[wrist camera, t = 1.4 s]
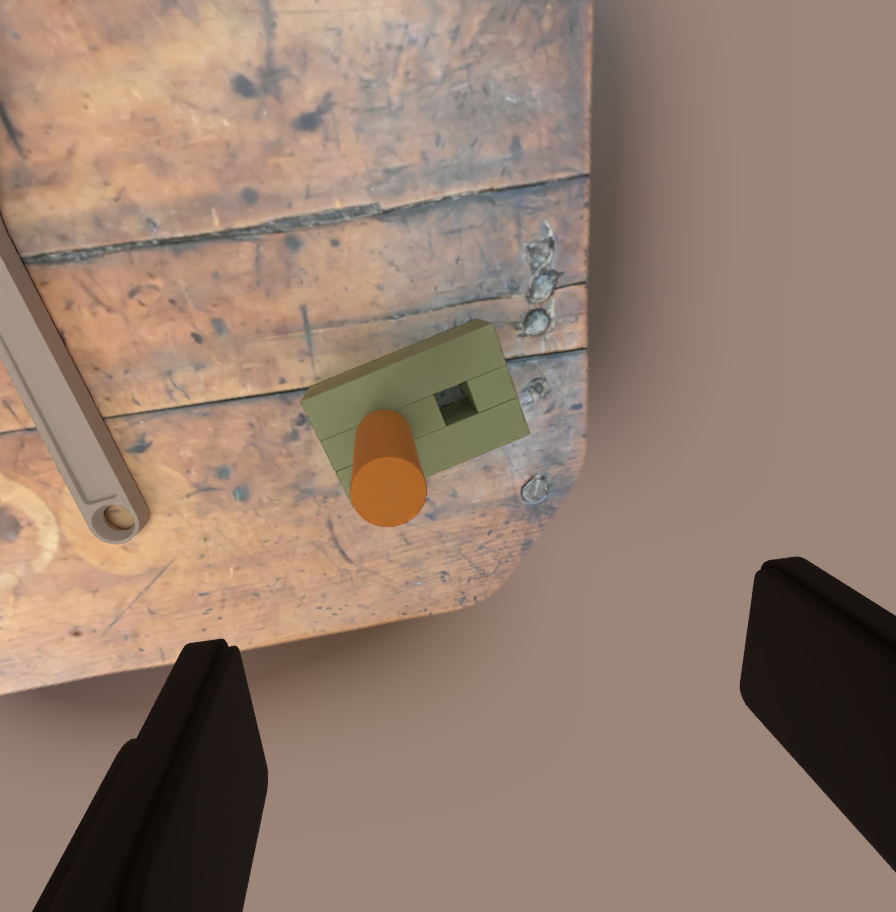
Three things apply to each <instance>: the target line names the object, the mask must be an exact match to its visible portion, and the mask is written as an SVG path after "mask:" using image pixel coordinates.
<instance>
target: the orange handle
mask: <svg viewBox="0 0 896 912" xmlns="http://www.w3.org/2000/svg"><path fill="white" fill-rule="evenodd" d="M426 496H427V485H426V481H425V477H424V473H423V470H422V466H421V463H420V459H419V456H418V452H417V448H416V445H415V441H414V438H413V434H412V431H411V427H410V425H409V423H408V422H407V420H406V419H405V418H404V417H403V416H402V415H400V414H399V413H397V412H395V411H392V410H385V409H383V410H376V411H373V412H371V413H369V414H368V415H366V416H365V417H364V418H363V419H362V420H361V421H360V423H359V425H358V427H357V430H356V437H355V447H354V457H353V467H352V477H351V486H350V497H351V501H352V504H353V507H354V508H355V510H356V511H357V513H358V514H359V515H360V516H361V517H362V518H363V519H365V520H366V521H368V522H369V523H372V524H374V525H377V526H382V527H394V526H398V525H402V524H404V523H406V522H408V521H410V520H411V519H413V518H414V517H415V516H416V515H417V514H418V513H419V512H420V510H421V509H422V507H423V505H424V503H425V500H426Z"/></svg>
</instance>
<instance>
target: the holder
mask: <svg viewBox="0 0 896 912" xmlns="http://www.w3.org/2000/svg"><path fill="white" fill-rule="evenodd" d="M458 384H461V387H462V390H463V392H464V395H465V397H466V398H464V399H461V400H459V401H456V402H454V403H452V404H449V405H447V406H444V407H442V408H439V407H438V404H437V402H436V399H435V397H434V394H436V393H438V392H441V391H443V390H446V389H448V388H451V387H453V386H455V385H458ZM301 404H302V406H303V408H304V410H305V412H306V414H307V416H308V418H309V420H310V422H311V424H312V426H313V428H314V431H315V433H316V435H317V437H318V439H319V440H320V441H321V444H322V446H323V448H324V450H325V452H326V454H327V456H328V458H329V460H330V462H331V464H332V466H333V468H334V470H335V471H336V475H337V477H338V479H339V481H340V483H341V485H342V487H343V489H344V491H345V493H346V495H347V497H348V499H349V501H350V503H351V505H352V507H353V504H352V501H351V497H350V486H351V477H352V467H353V457H354V447H355V437H356V430H357V427H358V425H359V423H360V421H361V420H362V419H363V418H364V417H365V416H366V415H368V414H369V413H371V412H373V411H376V410H383V409H385V410H392V411H395V412H397V413H399V414H400V415H402V416H403V417H404V418H405V419H406V420H407V422H408V423H409V425H410V427H411V431H412V434H413V438H414V441H415V445H416V448H417V452H418V456H419V459H420V463H421V466H422V470H423V473H424V477H425V478H426V477H428V476H431V475H433V474H435V473H438V472H440V471H443V470H445V469H448V468H450V467H452V466H455V465H457V464H460V463H462V462H465V461H467V460H469V459H472V458H474V457H477V456H479V455H481V454H484V453H486V452H489V451H491V450H494V449H496V448H498V447H501V446H503V445H506V444H508V443H511V442H513V441H515V440H518V439H520V438H523V437H525V436H528V435H530V432H529V429H528V426H527V423H526V420H525V417H524V414H523V411H522V408H521V405H520V403H519V400H518V398H517V394H516V391H515V388H514V385H513V382H512V379H511V376H510V373H509V370H508V367H507V365H506V361H505V358H504V355H503V352H502V349H501V346H500V343H499V341H498V338H497V335H496V332H495V329H494V326H493V323H490V322H487V321H484V320H480V319H477V318H476V319H474V320H471V321H469V322H467V323H464V324H462V325H459V326H457V327H454V328H452V329H449V330H447V331H445V332H442V333H440V334H437V335H435V336H432V337H430V338H427V339H425V340H423V341H420V342H418V343H415V344H413V345H410V346H408V347H405V348H403V349H401V350H398V351H396V352H393V353H391V354H388V355H386V356H383V357H381V358H379V359H376V360H374V361H371V362H369V363H366V364H364V365H361V366H359V367H356V368H354V369H352V370H349V371H347V372H344V373H342V374H339V375H337V376H334V377H332V378H330V379H327V380H325V381H322V382H320V383H317V384H315V385H312V386H310V387H309V388H308V390H307V392H306V393H305V395H304V397H303V398H302V400H301Z"/></svg>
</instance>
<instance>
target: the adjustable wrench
mask: <svg viewBox="0 0 896 912" xmlns="http://www.w3.org/2000/svg"><path fill="white" fill-rule="evenodd" d="M0 359H1V360H2V362H3V364H4V366H5V368H6V370H7V372H8V374H9V376H10V378H11V380H12V382H13V383H14V385H15V387H16V389H17V391H18V393H19V395H20V397H21V399H22V401H23V403H24V404H25V406H26V408H27V410H28V412H29V414H30V416H31V418H32V420H33V422H34V424H35V426H36V427H37V429H38V431H39V433H40V435H41V437H42V439H43V441H44V443H45V445H46V447H47V448H48V450H49V452H50V454H51V456H52V458H53V460H54V462H55V464H56V466H57V468H58V470H59V471H60V473H61V475H62V477H63V479H64V481H65V483H66V485H67V487H68V489H69V491H70V492H71V494H72V496H73V498H74V500H75V502H76V504H77V506H78V508H79V510H80V512H81V514H82V515H83V517H84V519H85V521H86V523H87V525H88V527H89V529H90V530H91V532H92V533H93V534H94V536H96V537H97V538H98V539H100V540H101V541H104V542H107V543H110V544H122V543H126V542H128V541H130V540H132V539H133V538H134V537H135V536H136V535H137V534H138V533H139V532H140V530H141V529H142V528H143V527H144V526H145V525H146V523H147V521H148V519H149V511H148V508H147V505H146V503H145V501H144V499H143V497H142V495H141V493H140V492H139V490H138V488H137V486H136V484H135V482H134V480H133V478H132V476H131V474H130V472H129V470H128V468H127V466H126V464H125V462H124V460H123V458H122V456H121V454H120V453H119V451H118V449H117V447H116V445H115V443H114V441H113V439H112V437H111V435H110V433H109V431H108V429H107V427H106V425H105V423H104V421H103V419H102V417H101V415H100V414H99V412H98V410H97V408H96V406H95V404H94V402H93V400H92V398H91V396H90V394H89V392H88V390H87V388H86V386H85V384H84V382H83V380H82V378H81V376H80V375H79V373H78V371H77V369H76V367H75V365H74V363H73V361H72V359H71V357H70V355H69V353H68V351H67V349H66V347H65V345H64V343H63V341H62V339H61V337H60V336H59V334H58V332H57V330H56V328H55V326H54V324H53V322H52V320H51V318H50V316H49V314H48V312H47V310H46V308H45V306H44V304H43V302H42V300H41V299H40V297H39V295H38V293H37V291H36V289H35V287H34V285H33V283H32V281H31V279H30V277H29V275H28V273H27V271H26V269H25V267H24V265H23V263H22V261H21V260H20V258H19V256H18V254H17V252H16V250H15V248H14V246H13V244H12V242H11V240H10V238H9V236H8V234H7V232H6V229H5V227H4V225H3V222H2V220H1V217H0ZM111 505H118V506H120V507H123V508H125V509H126V510H127V511H129V512H130V513H131V515H132V516H133V517H134V521H135V523H134V525H133V526H132V527H131V528H130V529H128V530H123V529H119V528H116V527H114V526H113V525H111V524H110V523H109V522H108V521H107V519H106V518H105V515H104V511H105V509H106V508H107V507H109V506H111Z"/></svg>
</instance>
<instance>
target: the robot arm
mask: <svg viewBox="0 0 896 912" xmlns="http://www.w3.org/2000/svg"><path fill="white" fill-rule="evenodd" d="M740 692H741V695H742V698H743V700H744V702H745V704H746V705H747V706H748V708H749V709H750V710H751V711H752V712H753V713H754V715H755V716H756V717H757V718H758V719H759V720H760V721H761V722H762V723H763V725H764V726H765V727H766V728H767V729H768V730H769V731H770V732H771V734H772V735H773V736H774V737H775V738H776V739H777V740H778V741H779V742H780V744H781V745H782V746H783V747H784V748H785V749H786V750H787V751H788V752H789V753H790V755H791V756H792V757H793V758H794V759H795V760H796V761H797V762H798V764H799V765H800V766H801V767H802V768H803V769H804V770H805V771H806V773H807V774H808V775H809V776H810V777H811V778H812V779H813V780H814V781H815V783H816V784H817V785H818V786H819V787H820V788H821V789H822V791H823V792H824V793H825V794H826V795H827V796H828V797H829V798H830V799H831V801H832V802H833V803H834V804H835V805H836V806H837V807H838V808H839V809H840V811H841V812H842V813H843V814H844V815H845V816H846V817H847V818H848V819H849V821H850V822H851V823H852V824H853V825H854V826H855V827H856V828H857V830H858V831H859V832H860V833H861V834H862V835H863V836H864V837H865V839H867V841H868V842H869V843H870V844H871V845H872V846H873V847H874V849H876V851H877V852H878V853H879V854H880V855H881V856H882V857H883V859H884V860H886V862H887V863H888V864H889V865H890V866H891V868H892V869H893V870H894V871H895V872H896V616H895V615H893V614H892V613H890V612H889V611H887V610H886V609H884V608H882V607H881V606H879V605H878V604H876V603H874V602H873V601H871V600H870V599H868V598H866V597H865V596H863V595H862V594H860V593H858V592H857V591H855V590H854V589H852V588H851V587H849V586H847V585H846V584H844V583H842V582H841V581H839V580H838V579H836V578H835V577H833V576H831V575H830V574H828V573H827V572H825V571H823V570H822V569H820V568H819V567H817V566H815V565H814V564H812V563H811V562H809V561H808V560H806V559H804V558H802V557H789V558H781V559H775V560H768V561H766V562H764V564H763V565H762V567H761V570H759V571H758V572H757V573H756V574H755V578H754V585H753V592H752V599H751V607H750V614H749V621H748V629H747V635H746V643H745V650H744V658H743V665H742V672H741V679H740ZM267 787H268V769H267V764H266V760H265V756H264V751H263V747H262V743H261V738H260V734H259V730H258V726H257V722H256V717H255V713H254V709H253V705H252V700H251V696H250V692H249V688H248V684H247V679H246V675H245V671H244V667H243V663H242V658H241V654H240V651H239V648H238V647H237V646H230V647H228V644H227V642H226V641H225V640H224V639H215V640H208V641H201V642H194V643H188V644H186V645H185V646H184V648H183V649H182V651H181V653H180V655H179V657H178V659H177V661H176V663H175V665H174V667H173V669H172V670H171V672H170V674H169V676H168V678H167V680H166V682H165V684H164V686H163V688H162V690H161V692H160V694H159V696H158V698H157V700H156V701H155V703H154V706H153V707H152V709H151V711H150V713H149V715H148V717H147V719H146V721H145V723H144V725H143V727H142V729H141V731H140V732H139V734H138V736H137V738H135V739H130V740H129V741H128V742H126V743H125V744H124V745H123V746H122V748H121V750H120V751H119V752H118V754H117V755H116V757H115V759H114V761H113V763H112V765H111V767H110V769H109V770H108V772H107V774H106V776H105V778H104V780H103V781H102V783H101V785H100V787H99V789H98V791H97V792H96V794H95V796H94V798H93V800H92V802H91V804H90V805H89V807H88V809H87V811H86V813H85V815H84V817H83V818H82V820H81V822H80V824H79V826H78V828H77V830H76V831H75V833H74V835H73V837H72V839H71V841H70V843H69V845H68V846H67V848H66V850H65V852H64V854H63V856H62V857H61V859H60V861H59V863H58V865H57V867H56V869H55V870H54V872H53V874H52V876H51V878H50V880H49V882H48V884H47V885H46V887H45V889H44V891H43V893H42V894H41V896H40V898H39V900H38V902H37V904H36V906H35V907H34V909H33V911H32V912H242V911H243V906H244V902H245V896H246V892H247V887H248V882H249V877H250V872H251V867H252V862H253V857H254V853H255V848H256V842H257V838H258V833H259V828H260V823H261V818H262V813H263V808H264V804H265V798H266V794H267Z"/></svg>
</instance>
